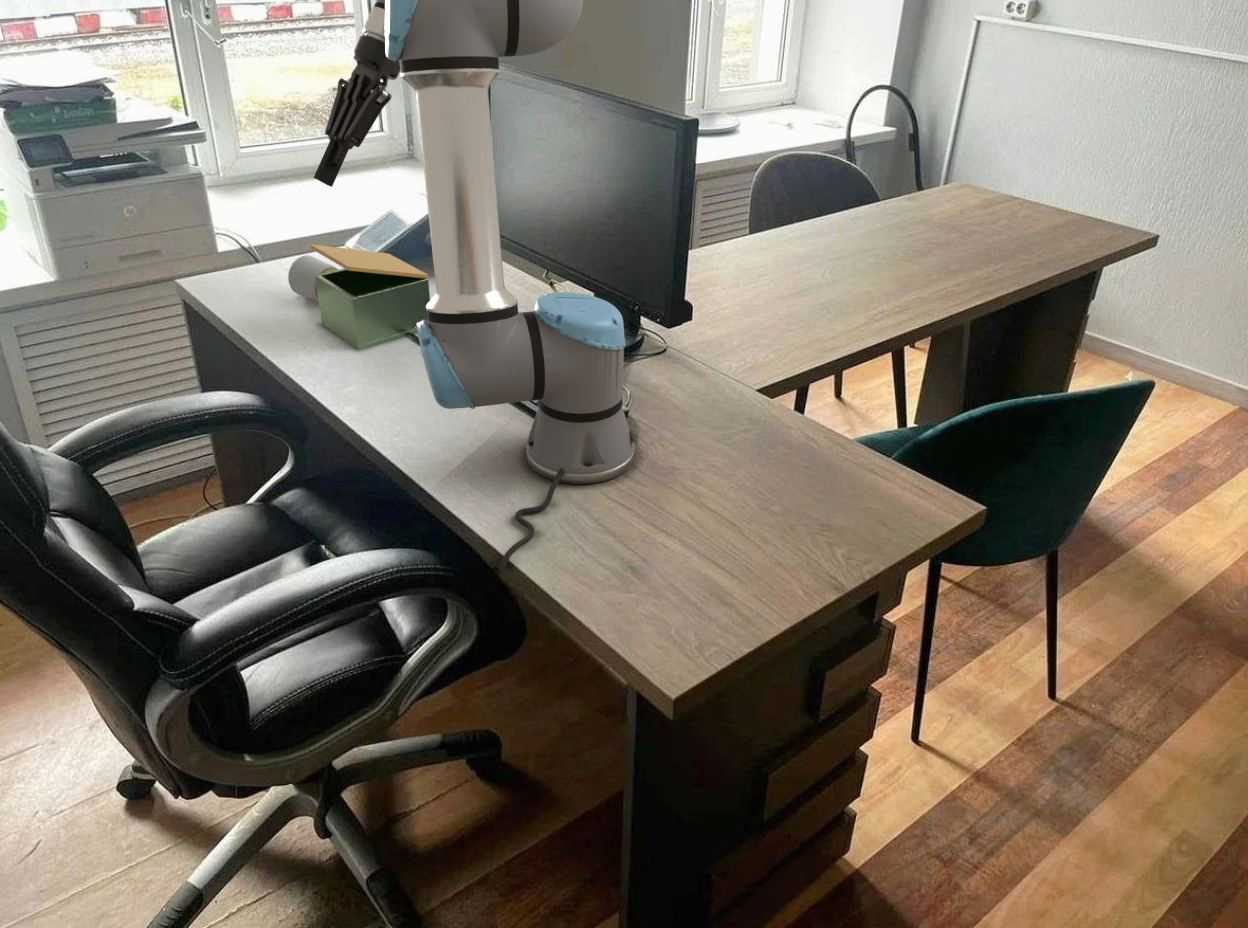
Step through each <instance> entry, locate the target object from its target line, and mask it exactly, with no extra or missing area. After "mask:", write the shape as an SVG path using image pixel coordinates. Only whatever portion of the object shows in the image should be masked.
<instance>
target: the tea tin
mask: <svg viewBox="0 0 1248 928" xmlns="http://www.w3.org/2000/svg"><path fill="white" fill-rule="evenodd" d="M315 281H316V287H317V294H318V301H319V302H318V306H319V307H318V308H319V314H320V320H321V326H323V327H325V329H328V330H329V331H331V332H332V333H334V334H335V335H336V336H338V337H339V338H341V339H342V340H343V341H345V342H346V343H348V344H350V345H351V346H352V347H354V348H355V349H357V350H358V351H360V350H363V349H366V348H369V347H372V346H376V345H380V344H383V343H387V342H391V341H394V340H398V339H401V338H404V337H407V336H410V335H414V334H418V332H417V328H415V327H416V325H417V323H418V322H421V321H422V320H426V321H427V311H426V305H427V304H428V303H429V302H430V301H431V296H430V293H431V292H430V281H429V278H428V279H426V278H417V277H407V276H397V275H388V274H378V273H368V272H358V271H349V270H346V269H345V268H340V269H339V270H335V271H331V272H327V273H323V274H319V275H315ZM413 328H414V329H413Z"/></svg>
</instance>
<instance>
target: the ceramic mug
mask: <svg viewBox="0 0 1248 928" xmlns="http://www.w3.org/2000/svg"><path fill="white" fill-rule="evenodd" d="M335 270H340V269H339V268H337V266H336V267H335V266H334V265H332V264H330V263H328V262H325V261H323V260H321V259H319V258H317V257H315V256H313V255H308V254H306V255H301V256H299V257H297V258H296V259H295V260H294V261H293V262H292V264H291V265H290V268H289V270H288V276H287V279H288V284H289V287H290V289H291V290H292V291H293V292H294V293H295V294H296V295H299V296H301V297H304V298H306V299H310V300H312V301H315V302H317V303H319V301H318V294H317V287H316V281H315V275H319V274H323V273H327V272H331V271H335Z"/></svg>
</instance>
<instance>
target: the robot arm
mask: <svg viewBox="0 0 1248 928" xmlns="http://www.w3.org/2000/svg"><path fill="white" fill-rule="evenodd" d="M583 6H584V0H375V3H374V5H373V6H372V8H371V10H370V13H369V15H368V18H367V19H366V21H365V24H364V25H363V28H362V32H363V35H360V36H359V38H358V40H357V42H356V44H355V47H354V49H353V51H352V58H353V60H354V61H356V66H355V67H354V69H353V70H352V72H351V73H350V77H349V78H348V79H347V80H345V79H344V78H342V77H340V79H338V80H337V90H336V95H335V98H334V101H333V104H332V107H331V111H330V114H329V117H328V121H327V123H326V127H325V131H324V134H325V135H326V136H327V137H328V140H329V142H328V145H327V146H326V149H325V151H324V153H323V155H322V158H321V160H320V163H319V164H318V166H317V169H316V171H315V173H314V176H313V178H314V179H315V180H317V181H319V182H320V183H323V184H324V185H326V186H328V187H331V188H332V187H333V186H334V184H335V181H336V179H337V178H338V177H337V176H338V175H339V172H340V170H341V168H342V166H343V163H344V161H345V159H346V157H347V154H348V153H349V150H352V149H353V148H354V147H356V148H360V147H361V145H362V143H363V142H364V140H365V138H366V137H367V135H368V134H369V132H370V130H371V129H372V127H373V125H374V124H375V122H376V120H377V118H378V117H379V115H380V113H381V112H382V110H383V109H384V108H385V106H386V105H387V104H388V103H389V102H390V101H391V100H392V94H391V93H389V92H388V91H387V89H386V88H387V86H388V83H389V82H388V81H390V80H391V81H395V80H397V79H398V77H399V75H400V77H401V78H402V79H403V80H404V81H405V82H406V83H407V84H408V85H409V86H410V87H411V88H412V89H413V91H414V92H415V97H416V98H415V99H416V108H417V117H418V126H419V137H420V146H421V156H422V165H423V176H424V184H425V194H426V195H425V196H426V203H427V213H428V223H429V231H430V241H431V243H430V244H431V251H432V262H433V271H434V279H435V280H434V281H435V291H436V292H435V294H434V296H433V297H432V298H430V302H429V303H428V304H427V305H426V311H427V321H426V320H422V321H421V322H418V323H417V325H416V328H417V332H418V333H417V336H418V337H417V338H418V342H419V348H420V350H421V351H420V352H421V356H422V360H423V363H424V367H425V370H426V374H427V377H428V381H429V385H430V388H431V391H432V395H433V397H434V400H435V402H436V403H437V404H438V405H439V406H440V407H442V408H443V409H447V410H453V409H455V410H456V409H467V408H469V409H472V410H473V409H474V410H475V409H476V408H479V407H487V406H496V405H504V404H505V405H507V404H513V403H520V402H521V403H522V402H529V401H537V410H536V413H535V416H534V419H533V422H532V425H531V428H530V431H529V434H528V436H527V437H528V438H527V440H526V447H525V448H526V449H525V451H526V461H527V463H528V465H529V467H530V468H531V469H532V470H533V471H534V472H535V473H537V474H538V475H540V476H542V477H544V478H546V479H549V480H552V482H551V484H550V487H549V489H548V492H547V495H546V498H545V500H544V501H543V502H542V503H541V504H540V505H537V506H532V507H525V508H521V509H519V510H517V511H516V512H515V515H514V519H515V521H516V522H517V523H518V524H520V525H521V526H523V527H524V528H526V529H527V530H528V533H527V534H526V536H525V537H523V538H521V539H520V540H519V541H517V542H515V543H514V544H512V546H511V547H510V548H508V550H506V552H505V553H504V555H503V557H502V558H501V561H500V563H499V567H498V572H500V573H501V572H504V571H505V570H506V568H507V564H508V563H509V560H510V558H511V556H513V554H514V553H515V552H516V551H517V550H518V549H520V548H521V547H523V546H524V545H526V544H527V543H529V542H530V541H531V540H532V539H533V538H534V535H535V527H534V525H532V523H531V522H529V521H527V520H526V519H524V518H523V517H521V516H522V515H527V514H536V513H540V512H542V511H544V510H545V509H547V508H548V506H549V505H550V504H551V502H552V500H553V497H554V493H555V491H556V489H557V487H558V485H559V483H564V484H570V485H571V484H572V485H586V484H589V485H590V484H596V483H601V482H606V481H609V480H612V479H614V478H617V477H619V476H620V475H623V474H624V473H625V472H626V471H628V470H629V469H630V468H631V466H632V465H633V463H634V459H635V445H636V446H638V442H639V441H638V440H639V439H638V438H639V436H638V435H637V434H636V433H634V432H633V431H632V430H630V428H629V424H628V420H627V418H626V414H625V412H624V407H623V403H624V402H623V399H624V398H623V397H624V396H623V394H624V361H625V359H624V358H625V357H624V356H625V348H626V339H625V328H624V327H625V326H624V325H625V324H624V317H623V315H622V313H621V312H620V311H619V309H617V307H616V306H615V305H613V304H612V303H611V302H609V301H607V300H604V299H602V298H599V297H597V296H594V295H592V294H591V295H590V294H587V293H580V292H573V291H556V292H555V291H554V292H550V293H547V294H546V295H544V294H543V295H541V296H540V297H538V298H537V299H536V301H535V304H534V307H533V310H532V311H524V312H523V311H522V312H520V311H519V306H518V299H517V298H516V297H515V296H514V295H513V294H512V293H511V292H509V290H507V289H506V287H505V281H504V267H503V255H502V244H501V232H500V231H501V229H500V219H499V209H498V207H499V206H498V196H497V184H496V182H497V181H496V172H495V171H496V170H495V161H494V159H495V158H494V148H493V147H494V146H493V134H492V124H491V111H490V100H489V99H490V98H489V88H490V86H491V85H492V84H493V82H494V80H496V78H497V77H498V76H499V74H500V63H499V58H503V57H504V58H505V57H506V58H507V57H525V56H529V55H536V54H538V53H540V52H541V53H542V52H544V51H546V50H548V49H550V48H553V47H554V46H556V45H557V44H559V43H560V42H561V41H563V40H564V39H565V38H566V37H568V35H570V33H571V32H572V31H574V29H575V28H576V26H577V24H578V22H579V21H580V18H581V16H582V11H583Z"/></svg>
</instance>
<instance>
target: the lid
mask: <svg viewBox="0 0 1248 928" xmlns="http://www.w3.org/2000/svg"><path fill="white" fill-rule="evenodd" d="M309 245H310V246H309V249H311V250H312V251H314V252H316V253H317V254H319V255H321V256H323V257H324V258H325V259H327V260H330V261H331V262H333V263H335V264H336V265H338V266H339V267H340V268H342V269H344V268H345V269H346V270H349V271H358V272H368V273H378V274H388V275H397V276H407V277H417V278H426V279H428V280H429V274H428V273H426V272H425V271H422V270H420V269H419V268H416V267H415V266H413V265H411V264H409V263H407V262H406V261H403V260H401V259H400V258H398V257H396V256H394V255H392V254H390V253H387V252H379V251H372V250H371V251H370V250H363V249H362V250H361V249H353V248H346V247H338V246H337V247H336V246H328V245H320V244H312V243H311V244H309Z"/></svg>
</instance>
